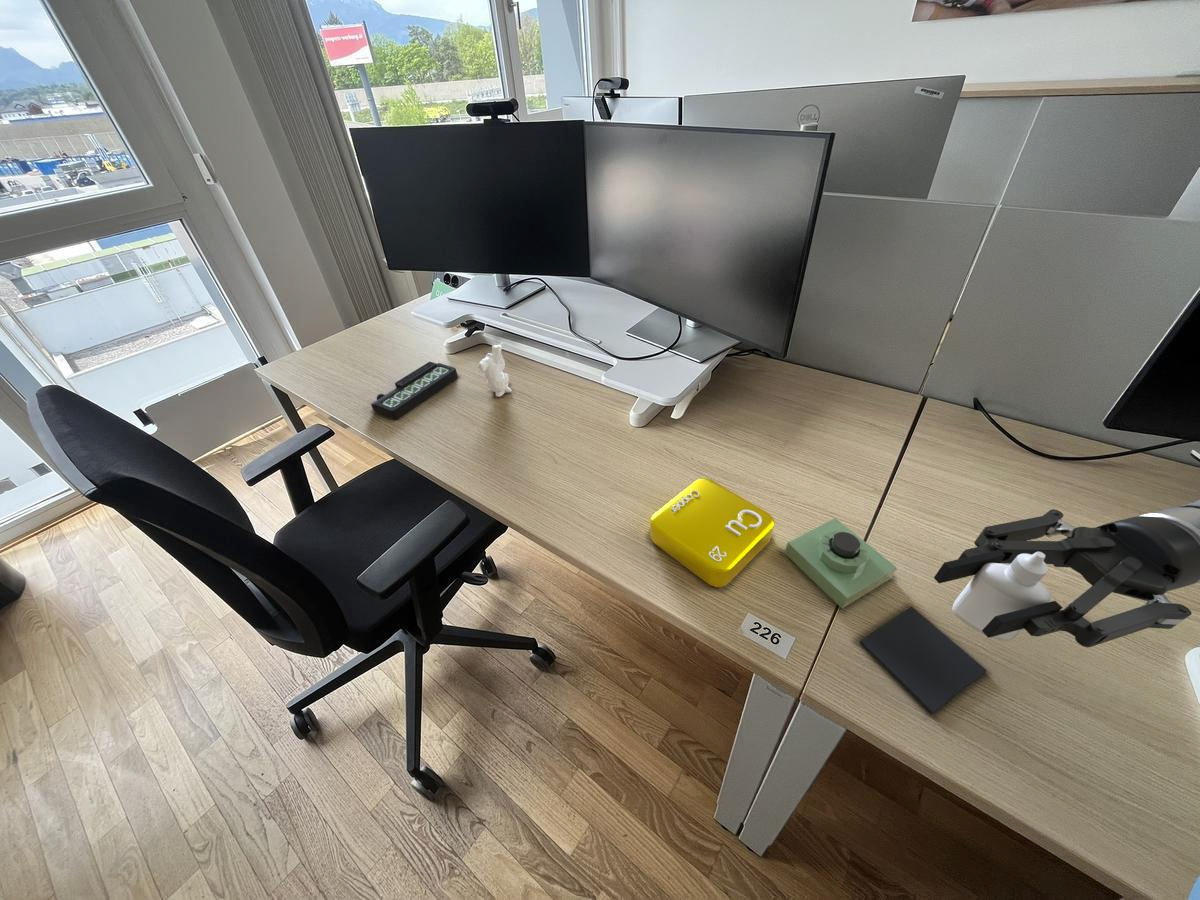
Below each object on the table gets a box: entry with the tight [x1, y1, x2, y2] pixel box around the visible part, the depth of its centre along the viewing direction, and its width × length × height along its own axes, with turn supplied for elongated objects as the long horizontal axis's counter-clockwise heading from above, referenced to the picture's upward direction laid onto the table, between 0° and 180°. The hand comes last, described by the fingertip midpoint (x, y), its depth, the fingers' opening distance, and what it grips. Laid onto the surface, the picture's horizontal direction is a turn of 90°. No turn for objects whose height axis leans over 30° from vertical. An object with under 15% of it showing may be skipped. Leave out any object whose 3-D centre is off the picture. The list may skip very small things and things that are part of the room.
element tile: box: [649, 477, 776, 588], centre depth 74 cm, size 15×15×5 cm
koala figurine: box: [477, 342, 512, 398], centre depth 110 cm, size 8×7×12 cm
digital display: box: [370, 361, 459, 421], centre depth 116 cm, size 21×3×10 cm
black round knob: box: [830, 532, 860, 559], centre depth 67 cm, size 4×4×2 cm
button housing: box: [784, 517, 898, 609], centre depth 69 cm, size 11×10×4 cm
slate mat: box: [859, 606, 988, 715], centre depth 59 cm, size 10×10×1 cm
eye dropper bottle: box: [951, 552, 1052, 642], centre depth 47 cm, size 4×6×12 cm
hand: (965, 598), depth 46 cm, fingers closed on eye dropper bottle, 5 cm apart
